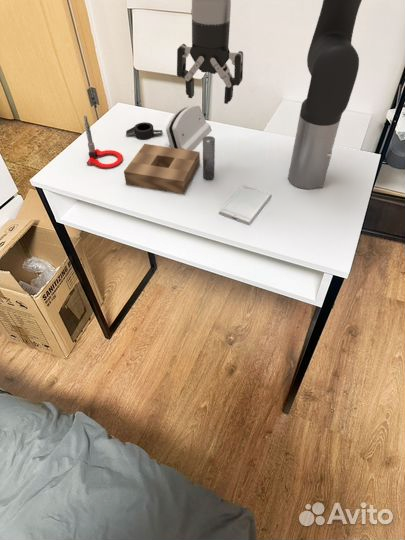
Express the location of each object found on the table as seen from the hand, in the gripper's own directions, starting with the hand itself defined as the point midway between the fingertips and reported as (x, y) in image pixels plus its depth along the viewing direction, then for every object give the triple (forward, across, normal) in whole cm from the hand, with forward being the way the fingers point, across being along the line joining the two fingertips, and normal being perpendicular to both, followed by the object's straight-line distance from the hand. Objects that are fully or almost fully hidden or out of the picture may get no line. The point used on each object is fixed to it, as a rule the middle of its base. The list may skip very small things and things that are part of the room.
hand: (208, 99), depth 86 cm
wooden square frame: (+21, +11, +3) cm, 24 cm away
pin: (+21, -1, 0) cm, 21 cm away
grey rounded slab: (+21, +11, -16) cm, 29 cm away
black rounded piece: (+22, +25, -15) cm, 36 cm away
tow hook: (+22, +29, +1) cm, 36 cm away
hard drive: (+21, -13, +9) cm, 26 cm away
